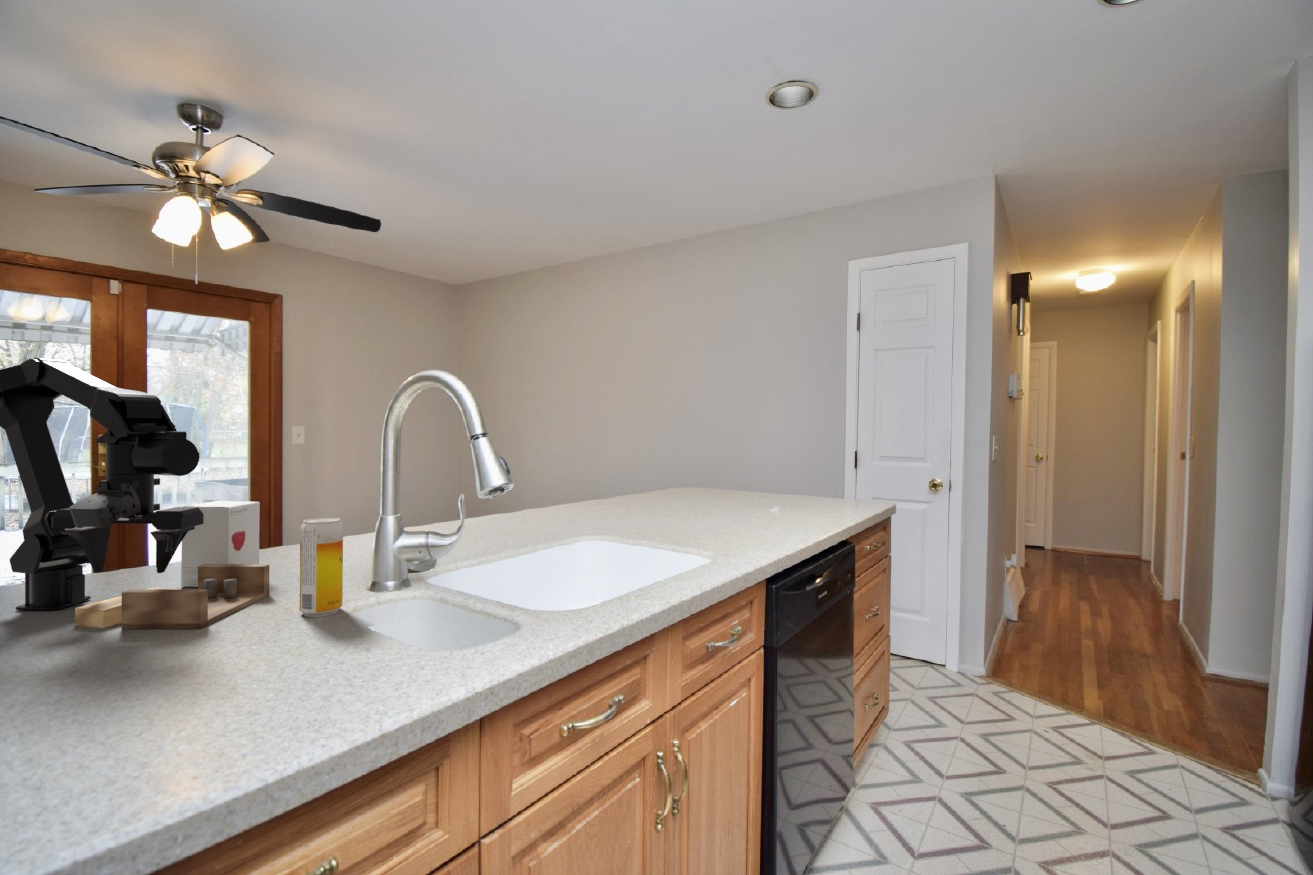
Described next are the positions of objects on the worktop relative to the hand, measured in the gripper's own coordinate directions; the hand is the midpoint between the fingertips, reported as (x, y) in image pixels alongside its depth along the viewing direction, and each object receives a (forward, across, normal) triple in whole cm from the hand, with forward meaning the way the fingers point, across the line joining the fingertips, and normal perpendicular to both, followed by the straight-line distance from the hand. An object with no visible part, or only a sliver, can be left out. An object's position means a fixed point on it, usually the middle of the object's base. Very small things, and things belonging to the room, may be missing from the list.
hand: (129, 572), depth 96 cm
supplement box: (+7, +2, +20) cm, 21 cm away
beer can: (+7, +29, +1) cm, 29 cm away
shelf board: (+7, 0, 0) cm, 7 cm away
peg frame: (+7, +10, +2) cm, 12 cm away
